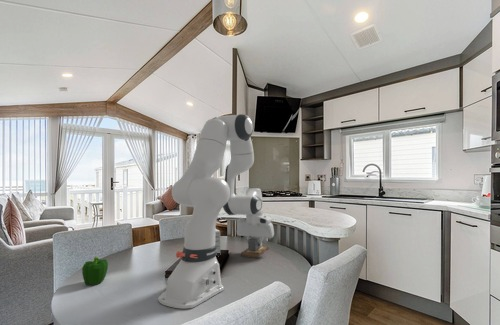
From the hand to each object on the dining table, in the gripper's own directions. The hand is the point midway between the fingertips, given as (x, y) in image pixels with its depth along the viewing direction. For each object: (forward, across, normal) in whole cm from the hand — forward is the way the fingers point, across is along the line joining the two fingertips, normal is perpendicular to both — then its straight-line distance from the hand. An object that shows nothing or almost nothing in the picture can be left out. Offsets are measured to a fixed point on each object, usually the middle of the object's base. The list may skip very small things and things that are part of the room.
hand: (255, 245), depth 125 cm
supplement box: (+4, -19, -12) cm, 23 cm away
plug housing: (+2, 0, 0) cm, 2 cm away
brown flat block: (+4, 0, 0) cm, 4 cm away
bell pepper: (+4, -43, -56) cm, 71 cm away
